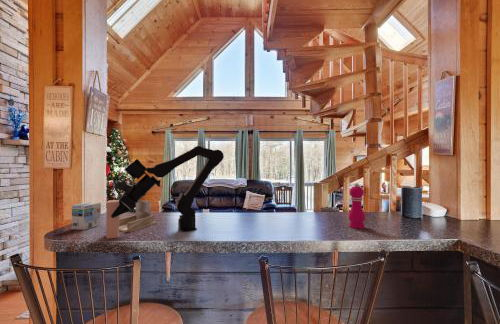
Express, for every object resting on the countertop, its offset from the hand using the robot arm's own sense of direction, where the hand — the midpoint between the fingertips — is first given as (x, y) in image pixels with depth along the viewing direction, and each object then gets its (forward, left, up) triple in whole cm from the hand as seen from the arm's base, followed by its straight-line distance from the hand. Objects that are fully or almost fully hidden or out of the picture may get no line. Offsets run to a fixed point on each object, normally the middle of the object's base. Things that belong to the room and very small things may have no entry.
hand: (112, 215), depth 114 cm
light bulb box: (+8, -24, -9) cm, 27 cm away
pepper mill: (-95, +44, -9) cm, 105 cm away
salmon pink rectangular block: (0, 0, -8) cm, 8 cm away
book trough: (-10, -13, -8) cm, 18 cm away
